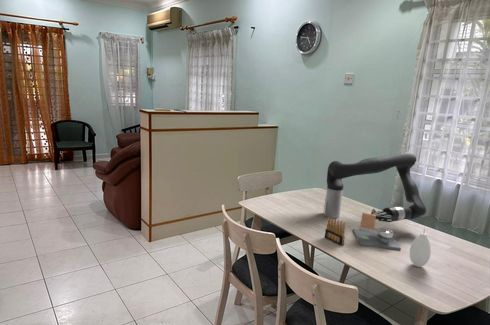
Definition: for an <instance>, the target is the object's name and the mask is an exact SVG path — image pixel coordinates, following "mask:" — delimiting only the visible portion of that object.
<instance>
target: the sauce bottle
mask: <svg viewBox="0 0 490 325" xmlns="http://www.w3.org/2000/svg"><path fill="white" fill-rule="evenodd" d="M431 251H432V250H431V242H430V240H429V238H428V234H427V233H426V228H424V229H423V232H421V233H419V235H417V236H416V237H415V238H414V240H413V241H412V243H411V246H410V248H409V258H410V261H411V263H412V264H413V266H415V267H417V268H421V267H424V266H426V265H427V264H428V262H429V260H430V257H431V253H432V252H431Z"/></svg>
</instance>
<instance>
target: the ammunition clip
mask: <svg viewBox="0 0 490 325" xmlns="http://www.w3.org/2000/svg"><path fill="white" fill-rule="evenodd" d="M345 229H346V223H345V222H342V221H339V219H337V218H333V217H332V218H330V216H329V217H327V224H326V228H325V232H324V237H323V238H324V239H325V240H328V241H330V242H333V243H334V244H336V245H339V246H340V247H343V246H344V245H345V236H346V235H345V234H346V232H345V231H346V230H345Z"/></svg>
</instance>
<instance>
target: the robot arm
mask: <svg viewBox="0 0 490 325" xmlns="http://www.w3.org/2000/svg"><path fill="white" fill-rule="evenodd" d="M416 162H417V157H416V155H415V154H413V153H411V152H407V151H406V152H401V153H397V154H391V155H384V156H379V157H378V156H377V157H368V158H365V159H362V160H360V161H358V162H355V163H343V162H340V161H338V160H334V161H331V162H330V163H329V165H328V167H327V173H326V193H325V194H326V195H325V198H324V204H323V211H322V213H323V217H325V218H329V216H330V219H332V217H333V219H339V218H340V214H341V207H342V202H343V201H342V200H343V199H342V198H343V192H344V183H343V180H344V179H347V178H350V177H354V176H362V175H363V176H364V175H372V174H379V173H382V172H385V171H388V170H389V169H391V168H396V170H397V173H398V175H399V177H400V181H401V184H402V186H403V191H404V195H405V199H406V202H408V203H413V204H412V205H410V206H406V205H401V206H390V207H384V208H383V209H382V210H378V211H376V209H374V208H373V209H372V210H371V213H370V214H373V215H376V220H375V221H377V220H378V221H379V222H382V223H383V222H384V223H392V222H398V221H402V220H403V221H404V220H415V219H418V218H420V217H422V216H424V215H425V214H426V213H427V208H426V207H427V206H425V203H424V201H423V200H422V199H421V196H420V191H419V188H418V186H417V184H416V182H415V181H414V180H413V179H412V176H411V168H413V167H414V165H415V164H416Z"/></svg>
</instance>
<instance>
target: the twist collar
mask: <svg viewBox="0 0 490 325" xmlns="http://www.w3.org/2000/svg"><path fill="white" fill-rule="evenodd" d="M376 221H377V220H376V215H373V214H371V213H367V212H362V214H361V220H360V226H359V229H360V231H362V232H366V233H371V234H375V235H378V236H379V237H381V238H383V239H392V238H394V231H392V230H391V229H389V228H383V227H380V228H378V229H376V228H375V224H376Z"/></svg>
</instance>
